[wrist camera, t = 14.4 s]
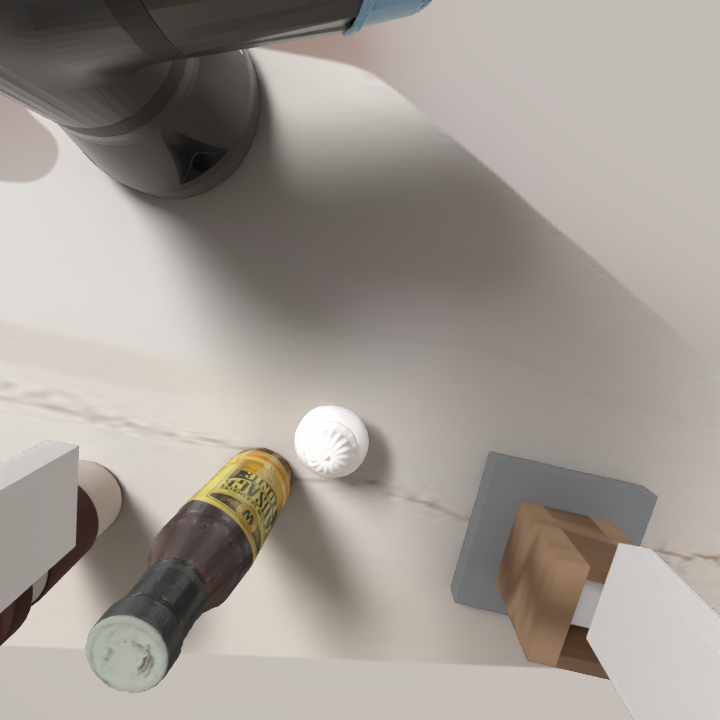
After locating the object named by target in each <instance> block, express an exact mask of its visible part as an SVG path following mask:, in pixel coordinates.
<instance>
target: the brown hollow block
mask: <svg viewBox="0 0 720 720" xmlns="http://www.w3.org/2000/svg"><path fill="white" fill-rule="evenodd" d="M619 543H622V544H628V545H634V546H636V545H635V544H634V543H633V542H632V541H631V540H630V539H629V538H628V537H627V536H626V535H625V534H624V533H623V532H622V531H621V530H620V529H619V528H618V527H617V526H616V525H615V524H614V523H613V522H611V521H608V520H604V519H600V518H595V517H591V516H586V515H582V514H578V513H573V512H569V511H564V510H560V509H556V508H551V507H547V506H542V505H538V504H534V503H529V502H525V501H520V502H519V506H518V509H517V512H516V515H515V519H514V522H513V525H512V528H511V532H510V535H509V538H508V541H507V545H506V548H505V551H504V554H503V558H502V561H501V564H500V567H499V570H498V574H497V577H496V580H495V582H496V585H497V587H498V589H499V592H500V594H501V597H502V599H503V602H504V604H505V607H506V609H507V612H508V614H509V617H510V619H511V621H512V624H513V626H514V629H515V631H516V634H517V636H518V639H519V641H520V644H521V646H522V649H523V651H524V654H525V656H526V658H527V661H531V662H535V663H539V664H544V665H548V666H552V667H557V668H561V669H565V670H570V671H574V672H579V673H583V674H587V675H592V676H596V677H600V678H604V679H609V677H608V675H607V673H606V672H605V670H604V668H603V666H602V665H601V663H600V661H599V660H598V658H597V656H596V654H595V653H594V651H593V649H592V648H591V646H590V644H589V642H588V641H587V639H586V637H587V634H588V631H589V628H586V627H582V626H577V625H573V624H571V621H572V618H573V615H574V613H575V610H576V607H577V604H578V601H579V598H580V595H581V593H582V590H583V587H584V584H585V581H586V580H588V581H593V582H597V583H601V584H605V582H606V579H607V576H608V573H609V570H610V567H611V564H612V562H613V559H614V556H615V553H616V550H617V547H618V544H619ZM609 680H610V679H609Z"/></svg>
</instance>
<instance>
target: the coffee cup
mask: <svg viewBox="0 0 720 720" xmlns="http://www.w3.org/2000/svg"><path fill="white" fill-rule="evenodd" d="M121 505H122V494H121V490H120V487H119V485H118V482H117V481H116V479H115V478H114V476H113V475H112V474H111V473H110V472H109V471H108V470H106V469H105V468H104V467H102V466H100V465H98V464H96V463H93V462H90V461H83V460H78V490H77V520H76V546H75V547H74V548H73V549H72V550H70V551H69V552H68V553H67V554H66V555H65V556H64V557H63V558H62V559H60V560H59V561H58V562H57V563H56V564H55V565H54V566H53V567H51V568H50V569H49V570H48V571H47V572H46V573H45V574H44V575H42V576H41V577H40V578H39V579H38V580H37V581H36V582H35V583H33V584H32V585H31V586H30V587H29V588H28V589H27V590H26V591H25V592H23V593H22V594H21V595H20V596H19V597H18V598H17V599H16V600H14V601H13V602H12V603H11V604H10V605H9V606H8V607H7V608H5V609H4V610H3V611H2V612H1V613H0V646H1V645H2V644H3V643H4V642H5V641H6V640H7V639H8V638H9V637H10V636H11V635H12V634H14V633H15V632H16V631H17V630H18V629H19V627H20V626H21V625H22V623H23V622H24V621H25V619H26V618H27V615H28V613H29V611H30V608H31V606H32V605H34V604H35V603H36V602H38V601H39V600H40V599H41V598H42V597H43V596H44V595H45V594H46V593H47V592H48V591H49V590H50V589H51V588H52V587H53V586H54V585H55V584H56V583H57V582H58V581H59V580H60V579H61V578H62V577H63V576H64V575H65V574H66V573H67V572H68V571H69V570H70V569H71V568H72V567H73V566H74V565H75V564H76V563H77V562H78V561H79V559H80V558H81V557H82V556H83V555H84V554H85V553H86V552H87V551H88V550H89V549H90V548H91V546H92V545H93V543H94V542H95V540H96V539H97V538H98V537H99V536H100V535H101V534H102V533H103V532H104V531H105V530H106V529H107V528H108V527H109V526H110V525H111V524H112V523H113V522H114V521H115V519H116V518H117V516H118V514H119V512H120V509H121Z"/></svg>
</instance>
